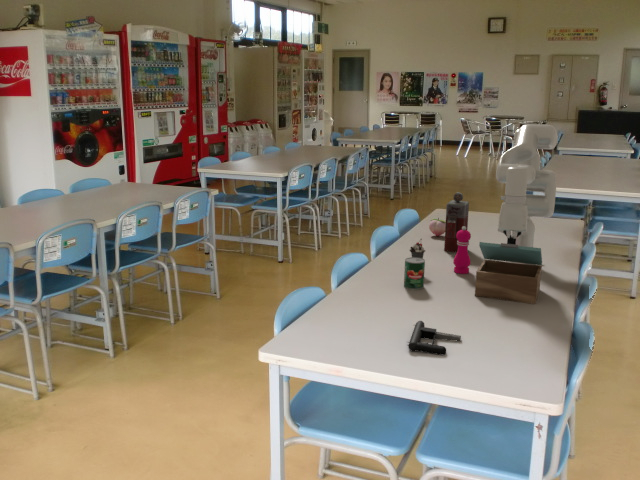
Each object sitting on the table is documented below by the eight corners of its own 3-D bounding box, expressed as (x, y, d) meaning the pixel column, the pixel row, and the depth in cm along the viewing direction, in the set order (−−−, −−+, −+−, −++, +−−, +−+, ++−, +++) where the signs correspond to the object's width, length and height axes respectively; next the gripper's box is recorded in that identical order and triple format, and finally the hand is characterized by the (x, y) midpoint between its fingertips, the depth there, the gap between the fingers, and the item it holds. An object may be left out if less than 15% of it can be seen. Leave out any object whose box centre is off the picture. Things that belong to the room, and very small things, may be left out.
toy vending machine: (442, 252, 305) (445, 194, 298) (448, 246, 315) (451, 190, 308) (461, 254, 302) (465, 195, 295) (466, 248, 312) (469, 191, 305)
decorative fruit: (449, 235, 338) (450, 217, 335) (443, 238, 331) (444, 219, 328) (432, 233, 342) (433, 215, 340) (426, 236, 336) (427, 217, 333)
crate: (482, 282, 260) (484, 259, 258) (539, 289, 252) (541, 265, 249) (474, 296, 244) (476, 271, 242) (535, 304, 236) (537, 278, 233)
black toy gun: (462, 326, 209) (413, 318, 212) (458, 351, 190) (404, 342, 194) (461, 336, 209) (412, 328, 213) (457, 361, 191) (403, 352, 195)
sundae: (425, 271, 274) (427, 237, 271) (423, 276, 268) (424, 241, 264) (410, 270, 276) (411, 236, 273) (407, 274, 270) (408, 240, 267)
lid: (484, 259, 258) (484, 256, 258) (541, 265, 250) (542, 262, 250) (478, 243, 240) (479, 240, 240) (540, 249, 232) (540, 246, 232)
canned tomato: (411, 290, 250) (412, 263, 247) (399, 285, 257) (400, 258, 254) (427, 287, 254) (429, 261, 251) (416, 282, 260) (417, 256, 258)
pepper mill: (470, 274, 270) (473, 228, 266) (452, 273, 272) (455, 227, 267) (469, 270, 277) (472, 224, 272) (452, 268, 279) (455, 224, 274)
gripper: (492, 200, 238) (489, 248, 242) (535, 203, 232) (530, 252, 236) (495, 197, 245) (492, 243, 249) (536, 200, 239) (532, 248, 243)
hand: (511, 247), depth 243 cm, fingers closed
